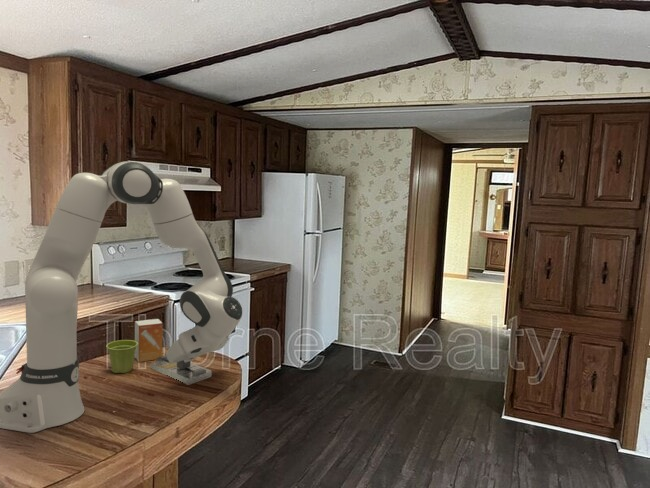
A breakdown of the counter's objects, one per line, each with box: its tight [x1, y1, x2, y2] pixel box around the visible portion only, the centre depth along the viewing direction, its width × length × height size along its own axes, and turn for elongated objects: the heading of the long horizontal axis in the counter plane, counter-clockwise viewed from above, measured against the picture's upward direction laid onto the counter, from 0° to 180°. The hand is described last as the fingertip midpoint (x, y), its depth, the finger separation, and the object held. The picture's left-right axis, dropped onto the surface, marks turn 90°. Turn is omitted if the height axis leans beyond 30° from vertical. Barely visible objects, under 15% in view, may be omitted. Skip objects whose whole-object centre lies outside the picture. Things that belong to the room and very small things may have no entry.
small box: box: [134, 318, 164, 363], centre depth 165 cm, size 8×6×13 cm
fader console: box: [150, 354, 213, 386], centre depth 154 cm, size 21×9×3 cm, turn 53°
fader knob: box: [177, 360, 191, 369], centre depth 152 cm, size 3×3×8 cm
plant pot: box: [105, 339, 138, 374], centre depth 154 cm, size 9×9×9 cm
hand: (187, 359), depth 151 cm, fingers closed, pressing on fader knob
